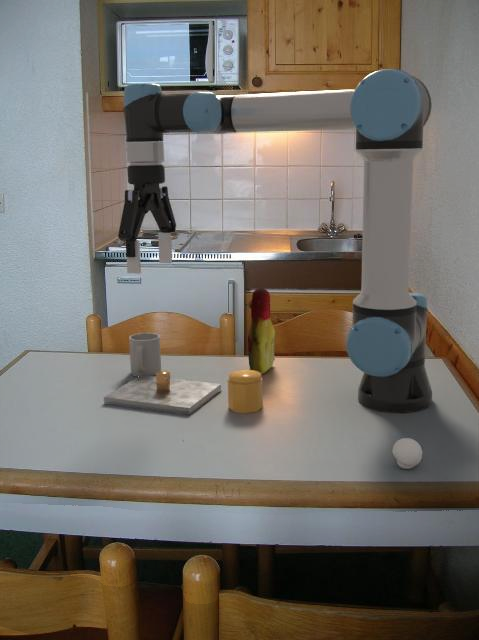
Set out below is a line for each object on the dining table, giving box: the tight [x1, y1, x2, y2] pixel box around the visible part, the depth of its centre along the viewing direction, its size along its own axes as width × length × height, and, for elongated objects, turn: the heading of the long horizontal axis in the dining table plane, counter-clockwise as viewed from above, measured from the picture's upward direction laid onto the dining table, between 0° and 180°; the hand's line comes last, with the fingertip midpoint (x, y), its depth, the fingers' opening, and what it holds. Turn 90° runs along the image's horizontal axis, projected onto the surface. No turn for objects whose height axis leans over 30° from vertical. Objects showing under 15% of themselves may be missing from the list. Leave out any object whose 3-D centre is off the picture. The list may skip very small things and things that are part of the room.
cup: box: [128, 332, 162, 377], centre depth 175 cm, size 7×10×9 cm
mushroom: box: [391, 437, 423, 470], centre depth 123 cm, size 5×5×5 cm
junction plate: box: [103, 370, 222, 416], centre depth 159 cm, size 20×16×6 cm
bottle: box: [247, 287, 276, 375], centre depth 175 cm, size 12×6×20 cm, turn 167°
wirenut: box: [227, 369, 264, 414], centre depth 152 cm, size 7×7×7 cm
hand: (150, 267), depth 155 cm, fingers open, 13 cm apart
